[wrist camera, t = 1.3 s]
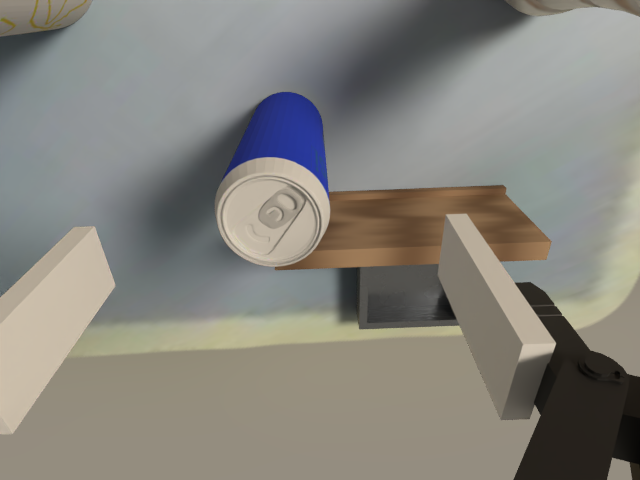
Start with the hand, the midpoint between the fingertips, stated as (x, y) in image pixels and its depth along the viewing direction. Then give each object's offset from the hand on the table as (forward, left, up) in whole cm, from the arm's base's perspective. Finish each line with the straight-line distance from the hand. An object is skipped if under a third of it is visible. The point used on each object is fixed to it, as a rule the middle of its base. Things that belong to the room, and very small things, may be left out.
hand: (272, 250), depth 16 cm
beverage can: (0, 0, -17) cm, 17 cm away
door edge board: (+8, -6, -17) cm, 20 cm away
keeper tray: (+10, -13, -17) cm, 24 cm away
